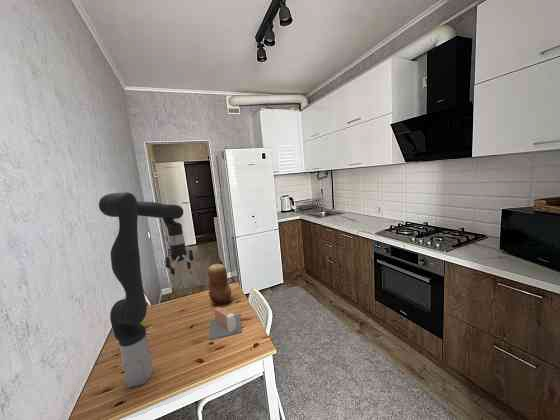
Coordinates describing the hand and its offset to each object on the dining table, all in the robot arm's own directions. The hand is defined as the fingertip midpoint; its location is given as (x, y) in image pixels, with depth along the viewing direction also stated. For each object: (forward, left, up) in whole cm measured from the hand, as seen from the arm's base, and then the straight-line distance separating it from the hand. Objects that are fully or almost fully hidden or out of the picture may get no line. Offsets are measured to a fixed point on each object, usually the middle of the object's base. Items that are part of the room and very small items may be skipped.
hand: (181, 271), depth 123 cm
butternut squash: (+16, -17, -30) cm, 38 cm away
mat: (-11, -20, -30) cm, 38 cm away
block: (-6, -16, -26) cm, 31 cm away
